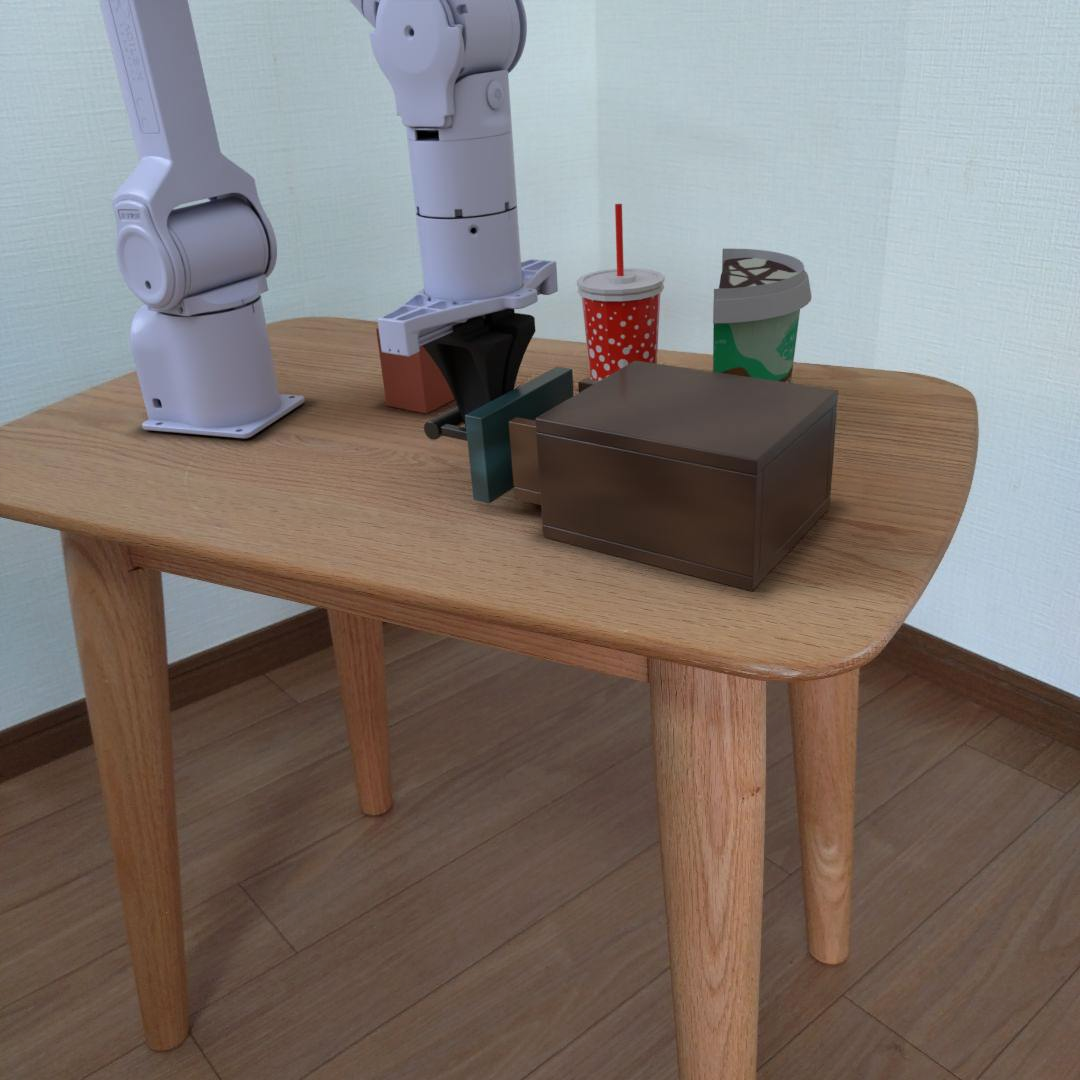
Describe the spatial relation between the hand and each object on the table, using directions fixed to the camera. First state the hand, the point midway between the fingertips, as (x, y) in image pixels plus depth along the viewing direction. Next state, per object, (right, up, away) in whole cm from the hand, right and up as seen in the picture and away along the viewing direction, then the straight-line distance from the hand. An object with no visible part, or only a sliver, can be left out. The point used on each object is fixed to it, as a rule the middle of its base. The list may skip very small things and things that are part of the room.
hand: (487, 435), depth 64 cm
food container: (+19, +3, +9) cm, 21 cm away
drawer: (+5, -3, -2) cm, 6 cm away
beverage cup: (+10, +4, +12) cm, 16 cm away
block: (-6, +4, +15) cm, 16 cm away
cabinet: (+12, -6, -6) cm, 14 cm away
